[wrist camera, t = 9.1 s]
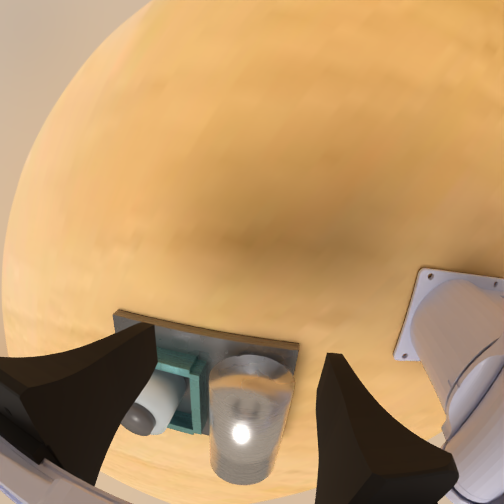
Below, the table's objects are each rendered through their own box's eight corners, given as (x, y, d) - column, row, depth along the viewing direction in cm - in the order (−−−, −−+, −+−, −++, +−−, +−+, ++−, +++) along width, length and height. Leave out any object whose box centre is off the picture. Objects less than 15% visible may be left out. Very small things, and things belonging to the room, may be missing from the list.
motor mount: (298, 343, 22) (295, 405, 16) (277, 440, 26) (268, 493, 20) (118, 309, 25) (72, 348, 18) (136, 407, 28) (107, 449, 22)
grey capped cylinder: (187, 369, 24) (161, 416, 18) (185, 405, 25) (162, 449, 20) (137, 351, 24) (103, 391, 19) (138, 388, 26) (110, 427, 20)
